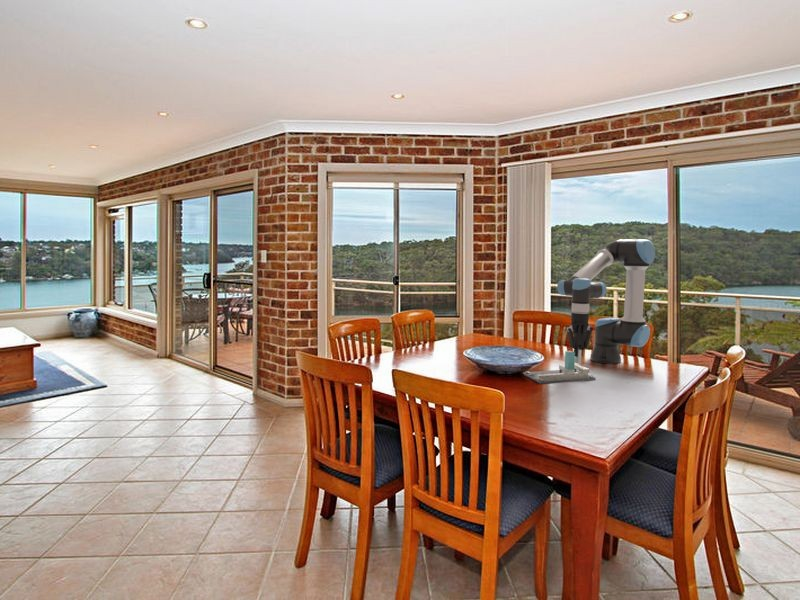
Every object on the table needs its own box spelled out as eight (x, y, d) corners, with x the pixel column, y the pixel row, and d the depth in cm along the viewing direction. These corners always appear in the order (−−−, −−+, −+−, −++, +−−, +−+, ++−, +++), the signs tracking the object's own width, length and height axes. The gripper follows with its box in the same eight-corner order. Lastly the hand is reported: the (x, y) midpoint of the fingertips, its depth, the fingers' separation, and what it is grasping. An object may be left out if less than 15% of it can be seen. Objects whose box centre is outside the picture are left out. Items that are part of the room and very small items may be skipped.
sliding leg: (562, 372, 224) (563, 348, 223) (574, 377, 215) (575, 352, 214) (557, 372, 224) (558, 348, 222) (568, 378, 214) (569, 352, 213)
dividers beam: (577, 372, 226) (577, 364, 226) (589, 377, 217) (589, 369, 216) (529, 375, 220) (530, 366, 220) (540, 380, 211) (540, 372, 211)
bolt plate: (575, 371, 232) (575, 367, 232) (595, 379, 217) (595, 376, 216) (523, 374, 226) (523, 371, 225) (540, 383, 210) (540, 380, 210)
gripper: (587, 310, 219) (585, 360, 222) (562, 311, 216) (560, 362, 219) (597, 313, 212) (595, 364, 215) (572, 313, 209) (569, 365, 212)
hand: (577, 363), depth 217 cm, fingers closed
